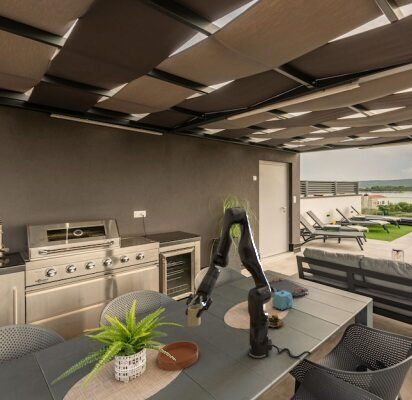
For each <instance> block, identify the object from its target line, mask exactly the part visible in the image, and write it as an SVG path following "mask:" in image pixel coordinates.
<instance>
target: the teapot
mask: <svg viewBox="0 0 412 400" xmlns="http://www.w3.org/2000/svg"><path fill="white" fill-rule="evenodd" d="M272 289H273V291H274V294H273V295H272V301H271V303H272V304H271V305H272V307H274V308H276V309H278V310H280V309H282V310H281V311H285V310H287V309H290V308H291V307H293V305H294V300H293V299H294V298H293V296H292V295H291V293H289V292H287V291H280V292H278V291H276V289H275V288H272ZM286 308H287V309H286Z"/></svg>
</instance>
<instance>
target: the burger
mask: <svg viewBox="0 0 412 400" xmlns="http://www.w3.org/2000/svg"><path fill="white" fill-rule="evenodd" d="M268 327H271V328H277V329H281V327H284V321H283V319H282V318H280V317H279V315H278V314H277V311H276V313H273V314H271V315H270V316H269V315H268Z"/></svg>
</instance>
